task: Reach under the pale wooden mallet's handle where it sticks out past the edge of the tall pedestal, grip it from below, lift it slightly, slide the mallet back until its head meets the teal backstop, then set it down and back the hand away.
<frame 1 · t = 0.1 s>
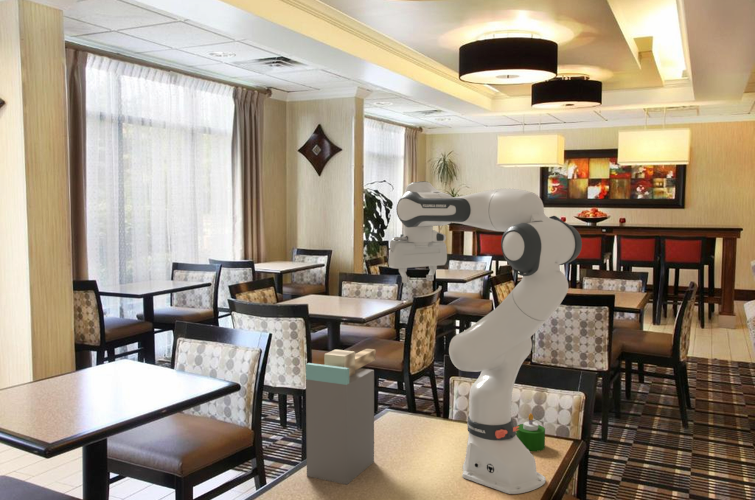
hand: (418, 281, 197), 48 cm above the table, tool pointing down, fingers open, 8 cm apart
supplement bottle: (479, 433, 204), on the table
mallet: (339, 374, 174), point 26 cm above the table, touching pedestal
candle: (530, 447, 192), on the table
pedestal: (341, 468, 176), on the table
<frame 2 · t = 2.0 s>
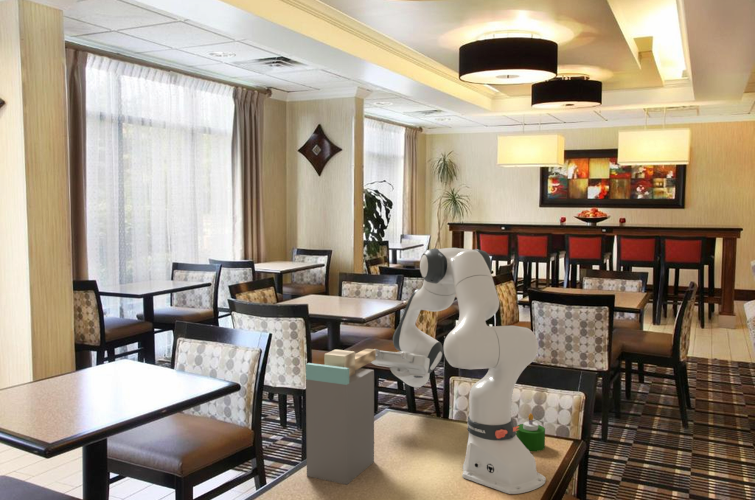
hand: (389, 353, 203), 25 cm above the table, tool pointing upward, fingers open, 8 cm apart
nothing on the table moved.
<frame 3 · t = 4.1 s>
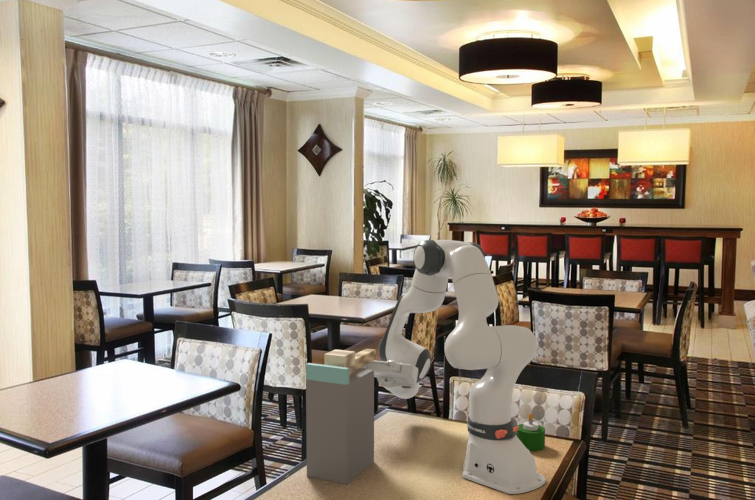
hand: (375, 361, 193), 25 cm above the table, tool pointing upward, fingers open, 8 cm apart
nothing on the table moved.
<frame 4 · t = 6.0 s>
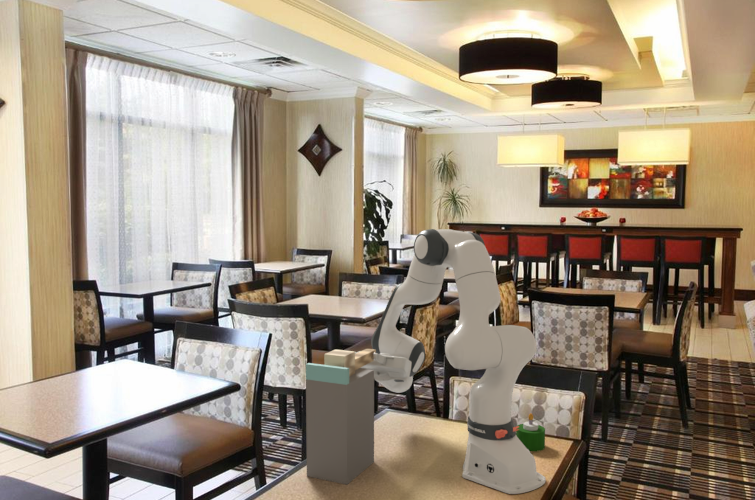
hand: (366, 354, 188), 28 cm above the table, tool pointing upward, fingers closed on mallet, 3 cm apart
mallet: (339, 374, 174), point 26 cm above the table, touching gripper, pedestal
everything else where it was.
when the fingers open (29 cm above the table, at t = 8.5 s): mallet stays where it is, resting on pedestal.
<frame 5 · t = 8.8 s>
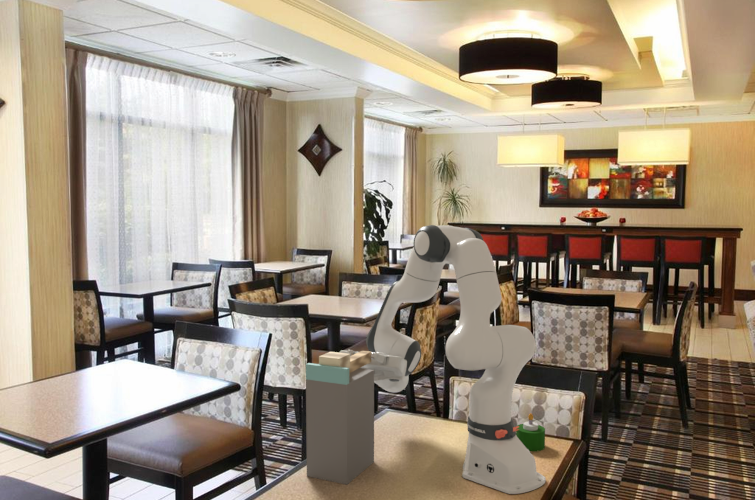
hand: (361, 353, 185), 29 cm above the table, tool pointing upward, fingers open, 6 cm apart
mallet: (334, 377, 171), point 26 cm above the table, touching pedestal
everything else where it was.
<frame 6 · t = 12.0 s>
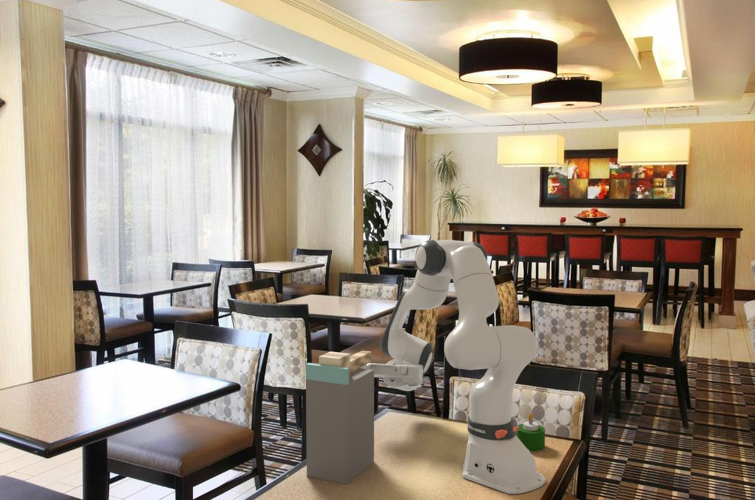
hand: (381, 367, 195), 22 cm above the table, tool pointing upward, fingers open, 8 cm apart
nothing on the table moved.
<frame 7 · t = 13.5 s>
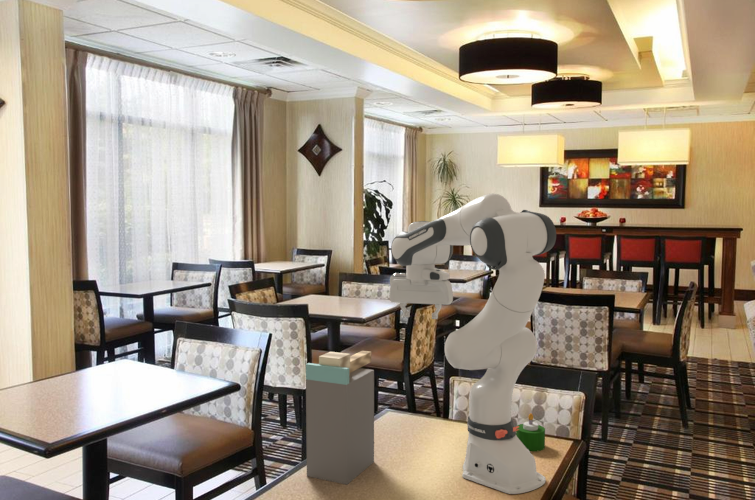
hand: (420, 318, 202), 36 cm above the table, tool pointing down, fingers open, 8 cm apart
nothing on the table moved.
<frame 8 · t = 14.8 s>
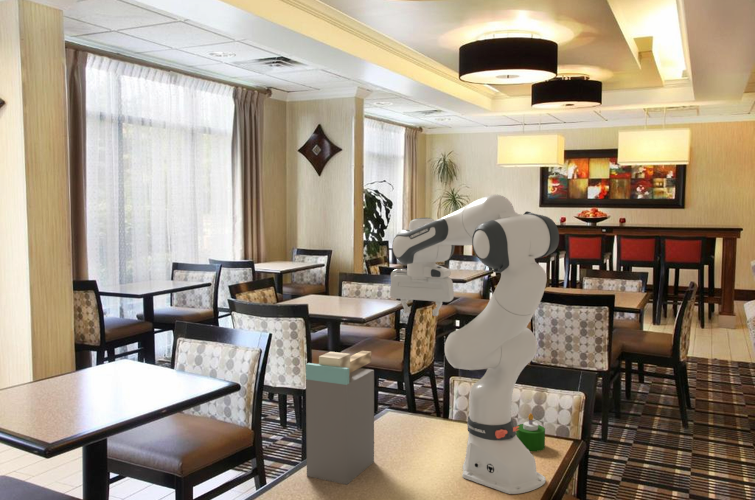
hand: (421, 314, 202), 37 cm above the table, tool pointing down, fingers open, 8 cm apart
nothing on the table moved.
at the end: mallet 0.1 cm from the target spot on the pedestal, point 26.0 cm above the pedestal's base; mallet tilted 0°; the gripper is holding nothing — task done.
